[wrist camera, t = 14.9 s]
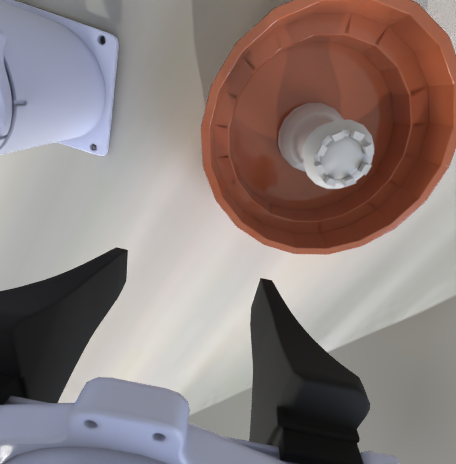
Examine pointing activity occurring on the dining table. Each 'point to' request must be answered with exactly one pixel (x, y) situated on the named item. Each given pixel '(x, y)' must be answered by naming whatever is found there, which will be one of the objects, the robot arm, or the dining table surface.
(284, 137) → the rook chess piece
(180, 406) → the robot arm
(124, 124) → the dining table surface
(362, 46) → the bowl
